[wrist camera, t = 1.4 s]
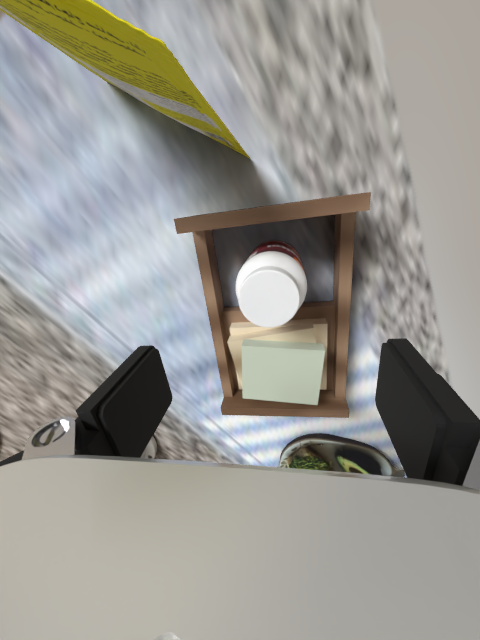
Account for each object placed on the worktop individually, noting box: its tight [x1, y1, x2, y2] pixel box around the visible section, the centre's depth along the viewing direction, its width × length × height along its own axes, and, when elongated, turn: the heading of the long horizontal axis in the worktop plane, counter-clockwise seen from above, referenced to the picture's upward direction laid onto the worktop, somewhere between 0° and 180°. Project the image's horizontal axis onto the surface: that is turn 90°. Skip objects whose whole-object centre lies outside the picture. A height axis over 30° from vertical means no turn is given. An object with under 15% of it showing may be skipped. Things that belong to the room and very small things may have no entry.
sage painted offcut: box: [241, 339, 325, 405], centre depth 28 cm, size 7×9×2 cm
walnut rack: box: [174, 192, 371, 418], centre depth 28 cm, size 24×16×7 cm, turn 7°
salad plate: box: [279, 434, 404, 477], centre depth 40 cm, size 19×18×5 cm
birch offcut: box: [230, 318, 327, 390], centre depth 31 cm, size 9×11×2 cm
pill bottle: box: [236, 241, 307, 328], centre depth 24 cm, size 6×6×11 cm
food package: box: [0, 0, 250, 158], centre depth 15 cm, size 15×1×20 cm, turn 65°
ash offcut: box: [227, 322, 324, 389], centre depth 30 cm, size 8×10×2 cm
